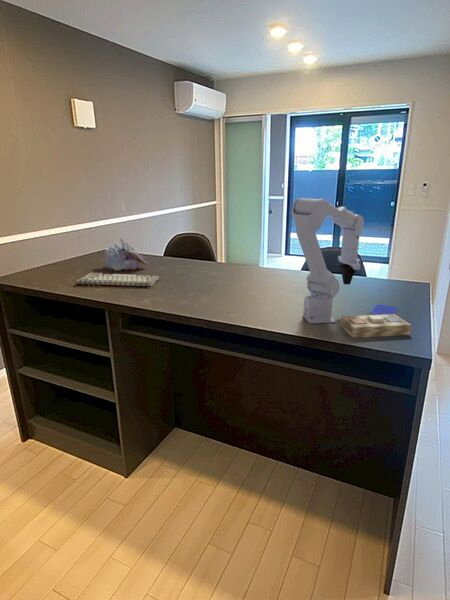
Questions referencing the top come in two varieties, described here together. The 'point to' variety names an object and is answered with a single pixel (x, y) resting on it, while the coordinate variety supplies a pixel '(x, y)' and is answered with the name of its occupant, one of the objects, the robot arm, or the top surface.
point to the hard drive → (383, 310)
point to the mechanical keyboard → (116, 281)
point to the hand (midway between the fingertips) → (346, 283)
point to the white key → (375, 319)
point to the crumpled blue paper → (122, 257)
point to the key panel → (375, 327)
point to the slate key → (392, 319)
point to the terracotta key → (357, 321)
